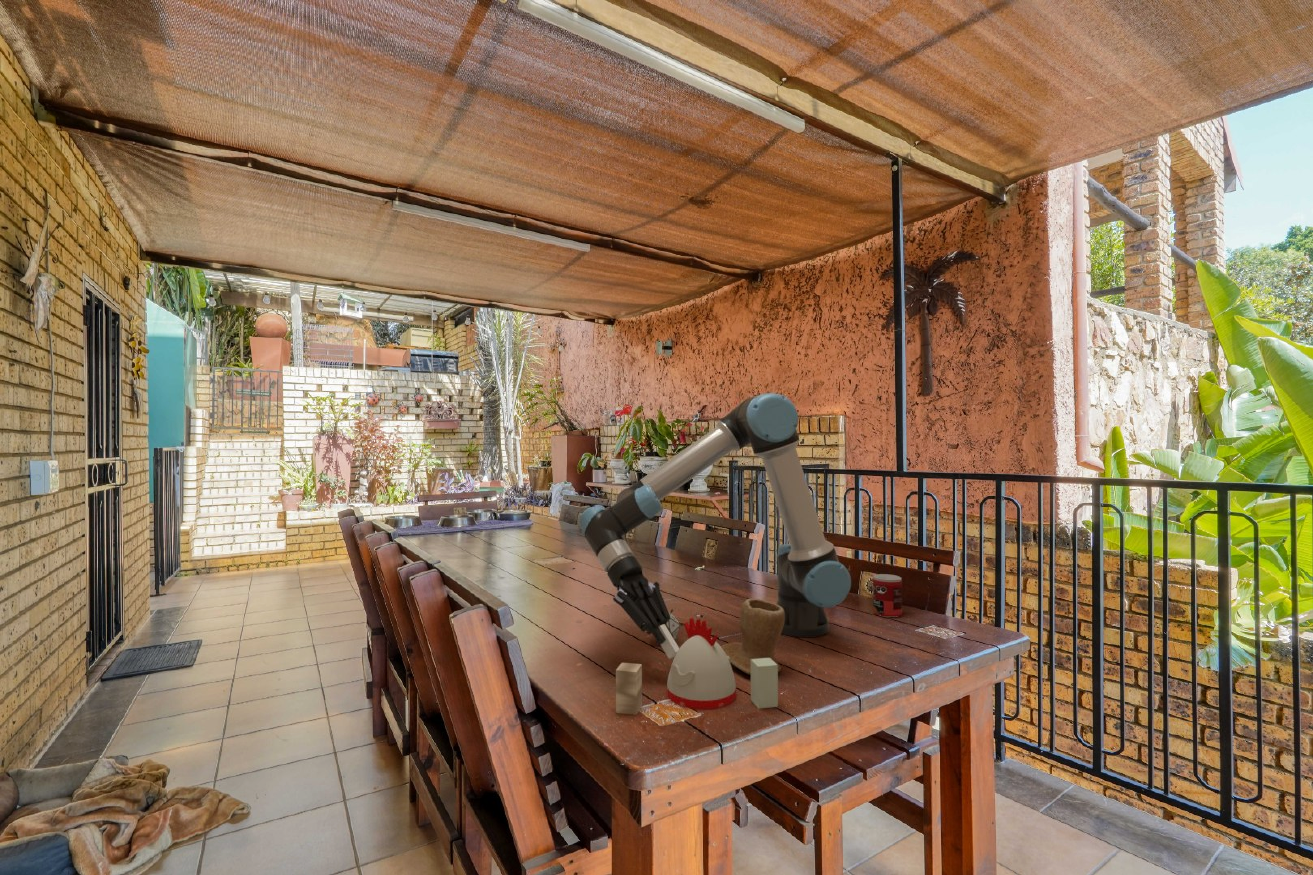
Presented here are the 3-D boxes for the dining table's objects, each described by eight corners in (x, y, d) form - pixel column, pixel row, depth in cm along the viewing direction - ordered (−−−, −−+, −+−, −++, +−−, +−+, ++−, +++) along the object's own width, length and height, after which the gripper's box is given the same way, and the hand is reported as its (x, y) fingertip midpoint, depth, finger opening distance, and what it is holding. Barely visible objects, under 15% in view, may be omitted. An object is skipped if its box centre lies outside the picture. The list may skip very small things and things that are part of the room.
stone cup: (795, 675, 130) (795, 606, 130) (746, 682, 126) (746, 611, 126) (761, 652, 144) (760, 590, 145) (716, 658, 141) (716, 594, 141)
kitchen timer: (698, 675, 131) (697, 606, 131) (749, 693, 121) (749, 619, 121) (653, 694, 121) (652, 620, 121) (705, 716, 111) (704, 635, 111)
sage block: (769, 697, 119) (769, 657, 119) (777, 706, 115) (777, 664, 115) (750, 699, 118) (750, 659, 118) (758, 708, 114) (757, 666, 114)
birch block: (642, 705, 116) (641, 664, 116) (636, 714, 112) (636, 671, 112) (622, 703, 116) (622, 662, 117) (616, 712, 113) (615, 670, 113)
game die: (670, 659, 150) (679, 635, 144) (639, 645, 152) (646, 620, 146) (682, 632, 157) (690, 608, 152) (652, 619, 159) (659, 595, 153)
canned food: (870, 610, 180) (870, 573, 180) (898, 611, 179) (898, 574, 179) (876, 617, 172) (875, 579, 172) (905, 618, 171) (905, 580, 171)
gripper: (632, 569, 144) (685, 656, 133) (591, 579, 135) (644, 672, 123) (648, 550, 141) (704, 637, 129) (606, 558, 131) (662, 653, 119)
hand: (674, 654), depth 126 cm, fingers closed
